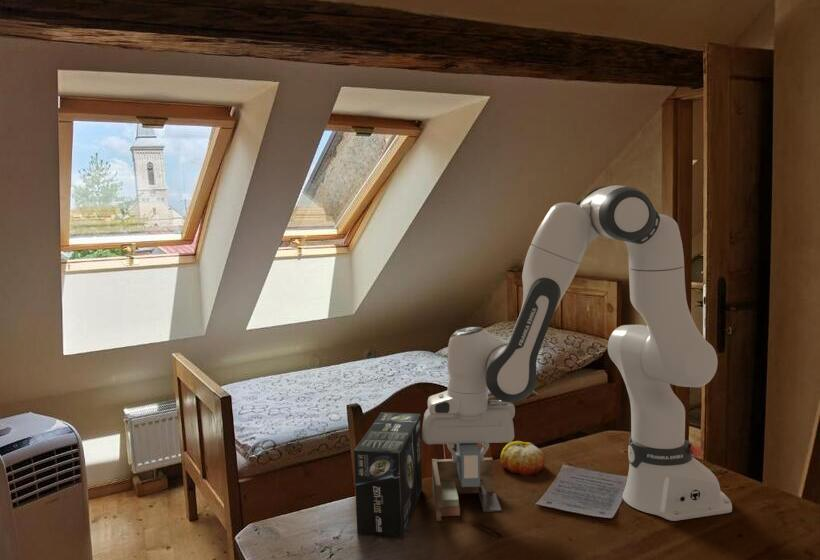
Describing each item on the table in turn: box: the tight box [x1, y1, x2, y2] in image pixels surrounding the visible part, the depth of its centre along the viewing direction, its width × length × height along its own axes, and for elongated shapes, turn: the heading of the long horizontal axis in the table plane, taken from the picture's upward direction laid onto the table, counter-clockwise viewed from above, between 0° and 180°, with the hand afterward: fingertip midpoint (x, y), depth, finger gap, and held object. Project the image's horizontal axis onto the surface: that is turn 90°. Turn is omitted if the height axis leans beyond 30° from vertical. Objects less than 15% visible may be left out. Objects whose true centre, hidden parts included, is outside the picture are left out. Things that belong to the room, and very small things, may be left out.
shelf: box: [431, 457, 494, 522], centre depth 145 cm, size 14×14×8 cm
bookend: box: [478, 479, 502, 513], centre depth 146 cm, size 4×8×4 cm, turn 2°
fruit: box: [499, 440, 546, 476], centre depth 164 cm, size 11×10×8 cm
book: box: [456, 443, 481, 487], centre depth 144 cm, size 4×10×8 cm, turn 2°
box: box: [353, 412, 423, 539], centre depth 142 cm, size 23×10×19 cm, turn 168°
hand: (467, 461), depth 144 cm, fingers closed on book, 4 cm apart
